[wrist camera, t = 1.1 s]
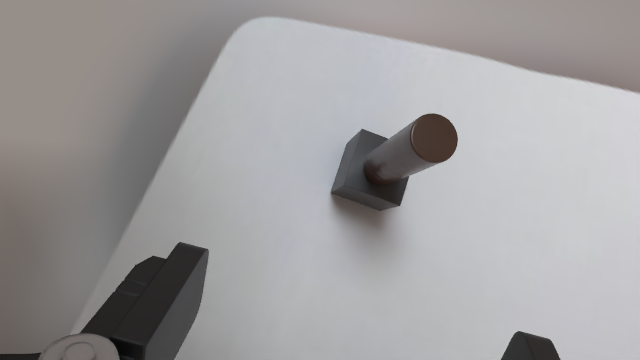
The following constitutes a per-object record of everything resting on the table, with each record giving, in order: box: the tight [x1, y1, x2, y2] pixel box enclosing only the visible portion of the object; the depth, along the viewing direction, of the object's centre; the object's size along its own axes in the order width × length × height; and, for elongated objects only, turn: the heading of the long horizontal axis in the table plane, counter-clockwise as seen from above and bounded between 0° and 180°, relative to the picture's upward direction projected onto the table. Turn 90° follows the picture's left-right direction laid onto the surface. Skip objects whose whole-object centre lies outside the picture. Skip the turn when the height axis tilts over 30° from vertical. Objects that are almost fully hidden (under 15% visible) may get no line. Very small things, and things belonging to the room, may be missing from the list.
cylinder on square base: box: [331, 114, 458, 211], centre depth 27 cm, size 4×4×12 cm
